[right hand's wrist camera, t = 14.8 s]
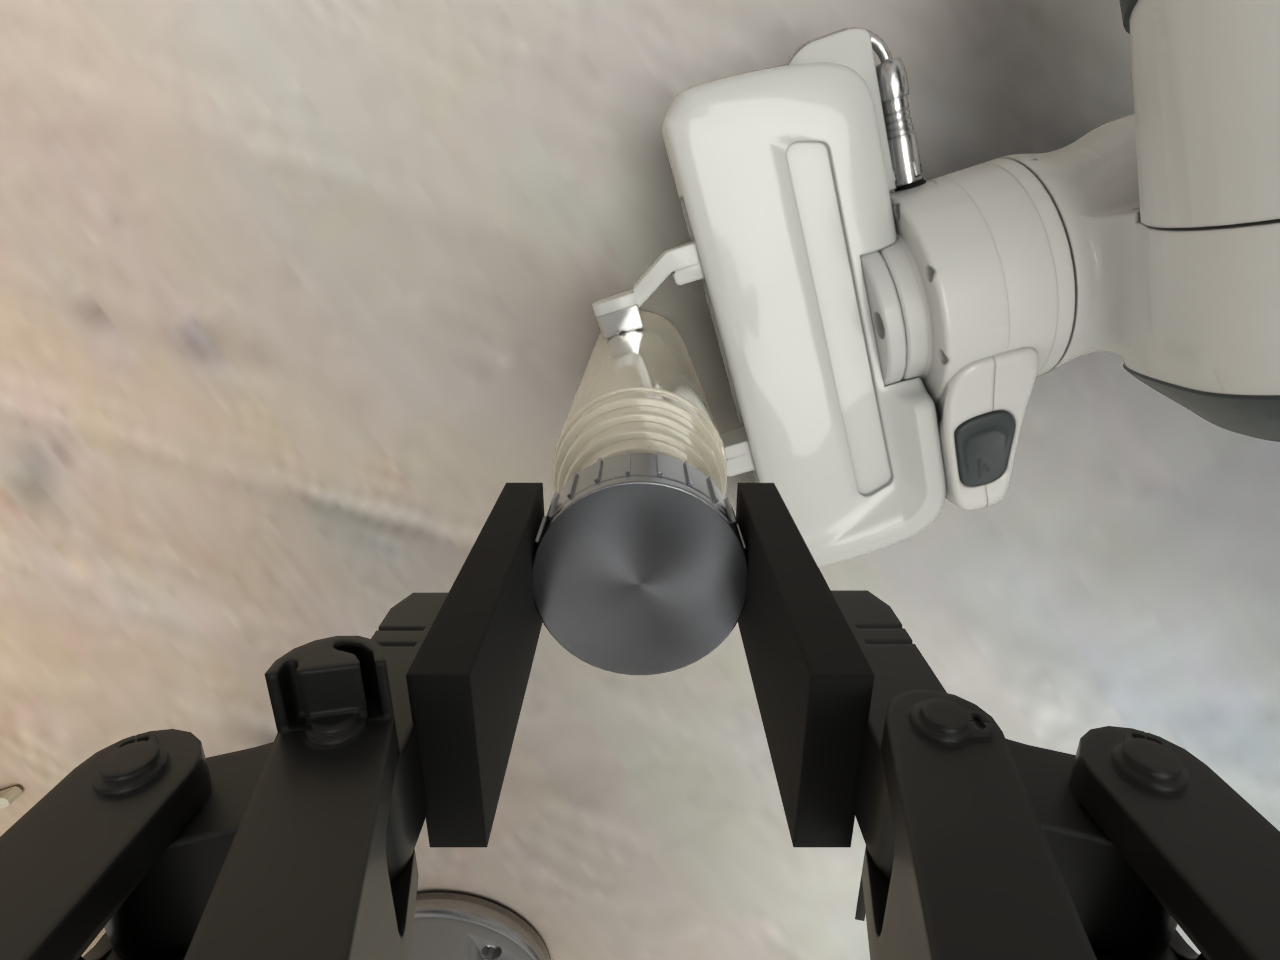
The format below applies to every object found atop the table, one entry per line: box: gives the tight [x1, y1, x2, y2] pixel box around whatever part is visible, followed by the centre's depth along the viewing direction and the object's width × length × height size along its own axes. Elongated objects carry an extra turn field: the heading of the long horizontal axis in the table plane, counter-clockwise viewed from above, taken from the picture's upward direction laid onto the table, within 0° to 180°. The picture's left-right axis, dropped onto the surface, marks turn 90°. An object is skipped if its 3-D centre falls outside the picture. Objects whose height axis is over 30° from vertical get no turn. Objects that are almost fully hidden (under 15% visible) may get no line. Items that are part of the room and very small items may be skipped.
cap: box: [532, 451, 748, 675], centre depth 14 cm, size 4×4×2 cm
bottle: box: [553, 311, 727, 497], centre depth 24 cm, size 5×5×23 cm
